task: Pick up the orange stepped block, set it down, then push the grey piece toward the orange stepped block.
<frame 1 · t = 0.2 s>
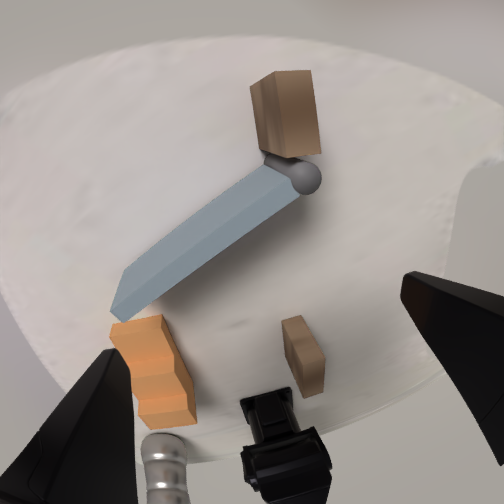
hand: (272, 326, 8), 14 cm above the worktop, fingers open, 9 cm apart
grey piece: (204, 229, 18), point 3 cm above the worktop, hinge at 65.0°
silver bottle: (163, 437, 33), on the worktop
orange stepped block: (155, 355, 26), on the worktop
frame: (284, 245, 23), on the worktop
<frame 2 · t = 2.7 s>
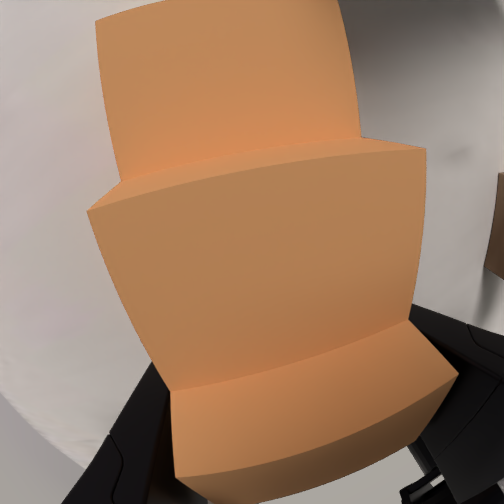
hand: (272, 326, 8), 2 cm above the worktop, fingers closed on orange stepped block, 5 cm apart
orange stepped block: (242, 199, 8), on the worktop, touching gripper
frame: (493, 32, 6), on the worktop
when the fingers open (3 cm above the worktop, at t = 7.1 s): orange stepped block drops 2 cm, on the worktop.
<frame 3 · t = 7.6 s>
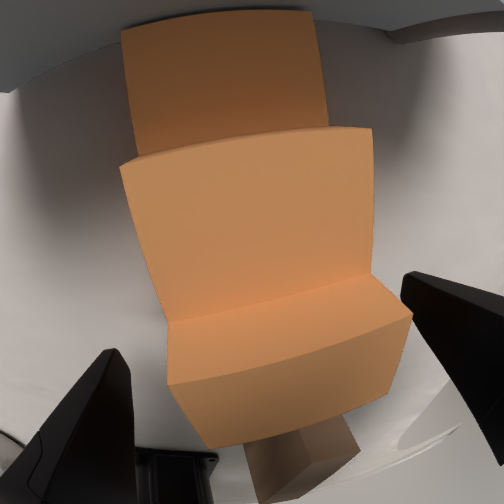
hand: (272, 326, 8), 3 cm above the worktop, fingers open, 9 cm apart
silver bottle: (7, 437, 13), on the worktop
orange stepped block: (234, 178, 9), on the worktop
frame: (354, 171, 9), on the worktop
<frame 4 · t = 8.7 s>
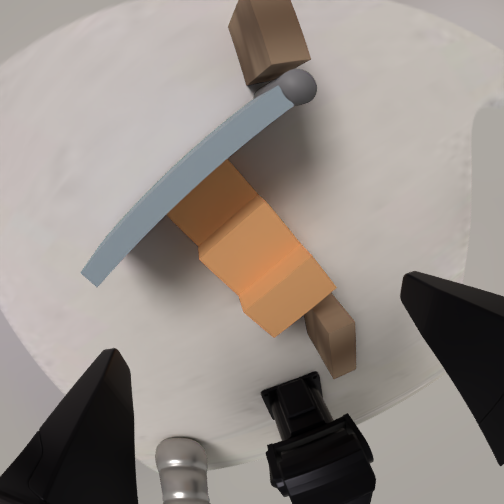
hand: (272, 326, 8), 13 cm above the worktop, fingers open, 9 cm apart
grey piece: (189, 168, 14), point 3 cm above the worktop, hinge at 65.8°
silver bottle: (180, 441, 30), on the worktop
orange stepped block: (237, 226, 20), on the worktop
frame: (290, 193, 19), on the worktop
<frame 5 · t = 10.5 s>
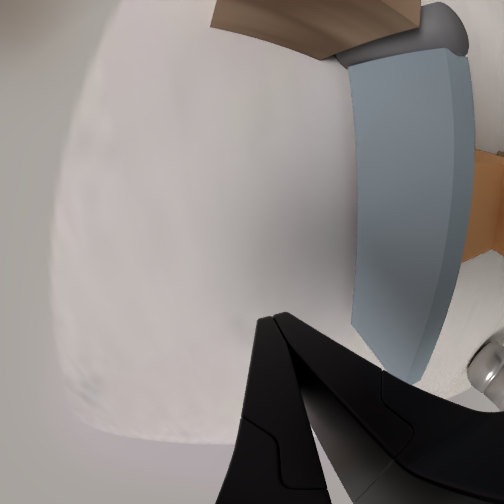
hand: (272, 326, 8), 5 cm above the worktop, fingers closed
grey piece: (403, 209, 10), point 3 cm above the worktop, hinge at 67.8°
silver bottle: (476, 354, 26), on the worktop
orange stepped block: (433, 189, 14), on the worktop
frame: (442, 113, 11), on the worktop
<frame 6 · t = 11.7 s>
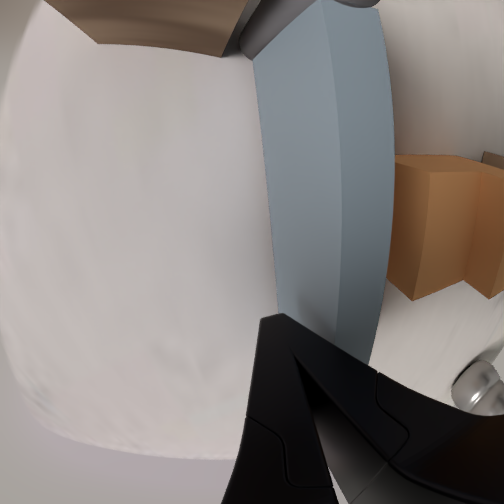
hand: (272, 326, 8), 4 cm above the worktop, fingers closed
grey piece: (311, 238, 8), point 3 cm above the worktop, hinge at 68.7°, touching gripper
silver bottle: (463, 372, 25), on the worktop
orange stepped block: (389, 205, 12), on the worktop
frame: (402, 106, 10), on the worktop
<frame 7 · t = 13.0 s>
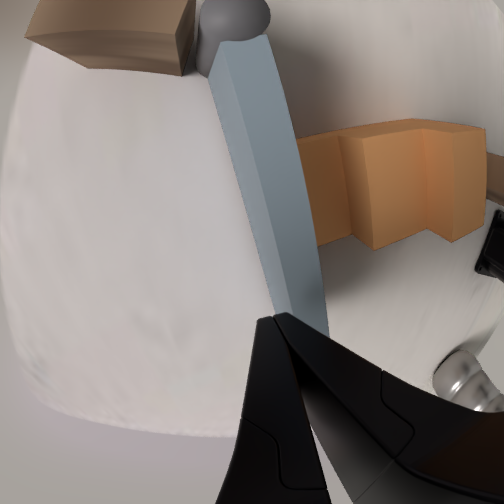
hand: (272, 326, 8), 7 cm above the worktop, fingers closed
grey piece: (269, 209, 11), point 3 cm above the worktop, hinge at 60.4°, touching orange stepped block
silver bottle: (444, 362, 27), on the worktop
orange stepped block: (351, 172, 14), on the worktop, touching grey piece
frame: (345, 104, 12), on the worktop
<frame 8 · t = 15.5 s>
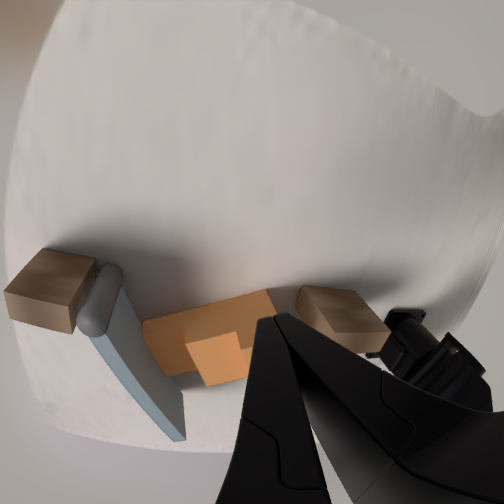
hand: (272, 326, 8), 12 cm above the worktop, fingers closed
grey piece: (142, 366, 19), point 3 cm above the worktop, hinge at 64.5°
orange stepped block: (211, 328, 22), on the worktop
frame: (202, 285, 20), on the worktop
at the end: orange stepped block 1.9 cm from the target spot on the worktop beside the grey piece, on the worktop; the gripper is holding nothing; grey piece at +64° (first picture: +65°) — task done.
